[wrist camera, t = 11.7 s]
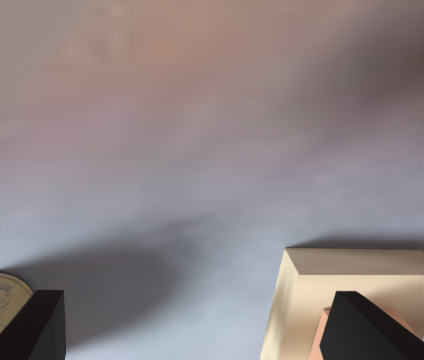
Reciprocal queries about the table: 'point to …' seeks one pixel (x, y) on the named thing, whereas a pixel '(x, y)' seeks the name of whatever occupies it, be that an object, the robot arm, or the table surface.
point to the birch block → (339, 281)
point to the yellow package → (11, 297)
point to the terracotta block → (315, 353)
